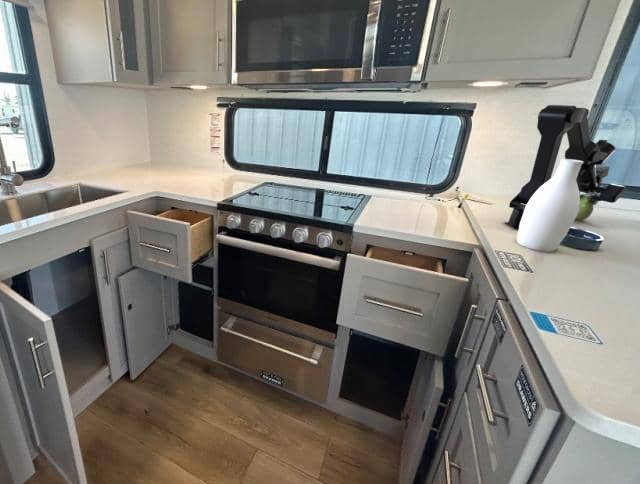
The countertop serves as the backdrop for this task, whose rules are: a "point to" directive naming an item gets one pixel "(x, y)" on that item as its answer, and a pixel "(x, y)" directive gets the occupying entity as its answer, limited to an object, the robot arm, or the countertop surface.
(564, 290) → the countertop surface
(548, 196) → the bottle
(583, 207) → the pear
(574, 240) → the holder
